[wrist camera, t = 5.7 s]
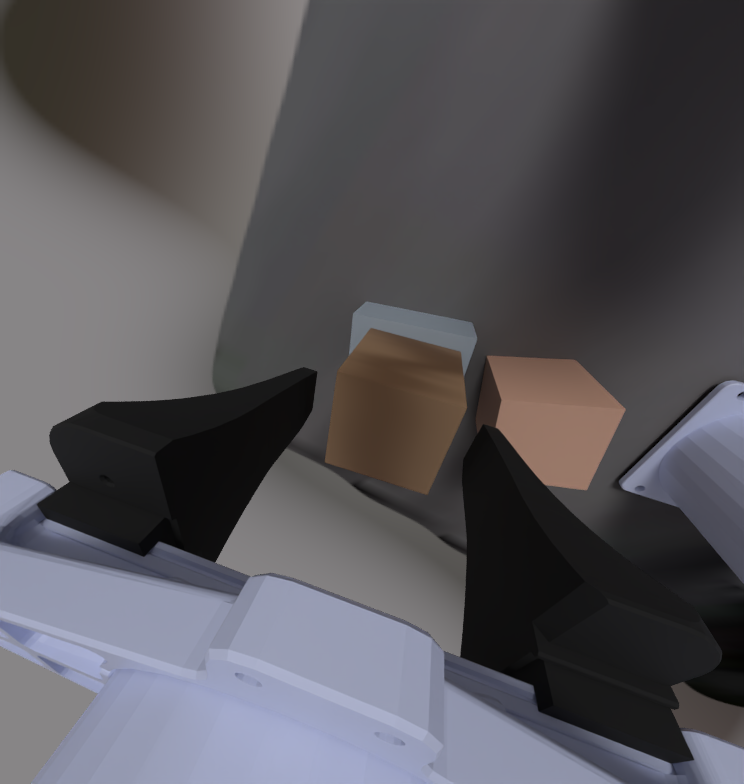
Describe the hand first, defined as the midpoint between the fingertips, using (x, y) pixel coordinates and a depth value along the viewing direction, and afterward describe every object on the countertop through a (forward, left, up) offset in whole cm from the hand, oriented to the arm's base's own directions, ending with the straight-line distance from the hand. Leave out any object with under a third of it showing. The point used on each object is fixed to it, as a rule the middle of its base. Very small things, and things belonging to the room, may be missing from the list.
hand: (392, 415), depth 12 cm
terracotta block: (-7, 0, -6) cm, 9 cm away
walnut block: (0, 0, -4) cm, 3 cm away
